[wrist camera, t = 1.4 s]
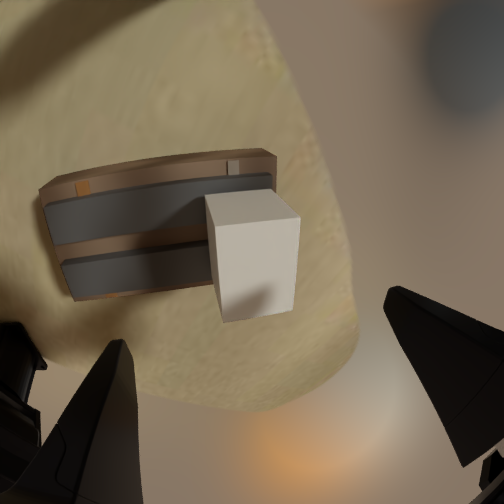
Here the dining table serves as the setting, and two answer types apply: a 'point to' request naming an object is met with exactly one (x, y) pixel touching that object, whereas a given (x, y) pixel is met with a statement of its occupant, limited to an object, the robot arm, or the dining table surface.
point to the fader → (252, 252)
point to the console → (144, 219)
